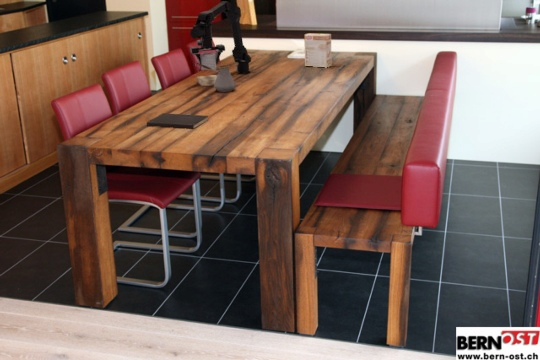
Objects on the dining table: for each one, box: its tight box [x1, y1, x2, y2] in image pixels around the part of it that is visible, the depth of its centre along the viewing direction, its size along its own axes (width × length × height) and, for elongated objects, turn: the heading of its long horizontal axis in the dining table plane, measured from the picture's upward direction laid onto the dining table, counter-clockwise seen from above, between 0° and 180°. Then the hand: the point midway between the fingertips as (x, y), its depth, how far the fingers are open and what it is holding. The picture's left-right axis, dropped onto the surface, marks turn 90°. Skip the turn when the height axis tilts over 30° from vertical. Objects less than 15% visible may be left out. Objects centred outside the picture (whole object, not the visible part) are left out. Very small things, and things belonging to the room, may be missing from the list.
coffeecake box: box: [304, 32, 332, 69], centre depth 422 cm, size 15×7×20 cm, turn 58°
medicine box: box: [200, 52, 218, 71], centre depth 388 cm, size 8×4×9 cm, turn 85°
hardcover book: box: [146, 112, 209, 130], centre depth 314 cm, size 16×23×2 cm
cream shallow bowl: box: [196, 74, 218, 87], centre depth 392 cm, size 12×12×3 cm
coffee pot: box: [194, 62, 237, 93], centre depth 371 cm, size 21×12×15 cm, turn 79°
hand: (208, 64), depth 389 cm, fingers closed on medicine box, 9 cm apart
